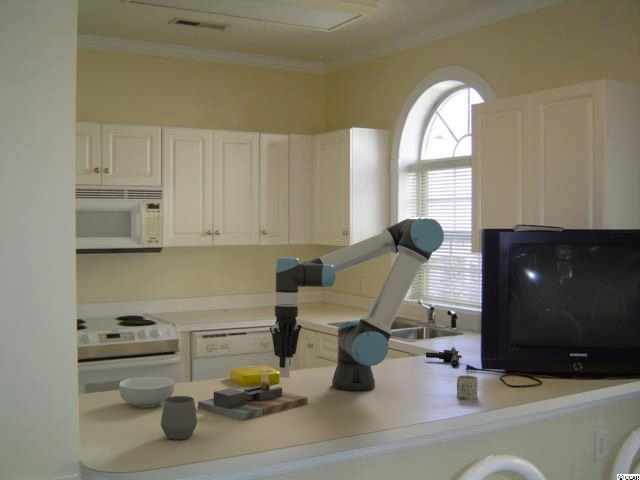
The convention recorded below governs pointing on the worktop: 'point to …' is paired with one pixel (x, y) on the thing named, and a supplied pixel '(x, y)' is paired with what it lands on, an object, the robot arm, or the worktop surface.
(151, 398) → the cereal bowl
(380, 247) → the robot arm
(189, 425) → the cup
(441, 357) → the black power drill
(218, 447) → the worktop surface
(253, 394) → the bolt
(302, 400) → the door and jamb
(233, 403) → the bolt housing
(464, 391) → the mug
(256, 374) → the element tile
